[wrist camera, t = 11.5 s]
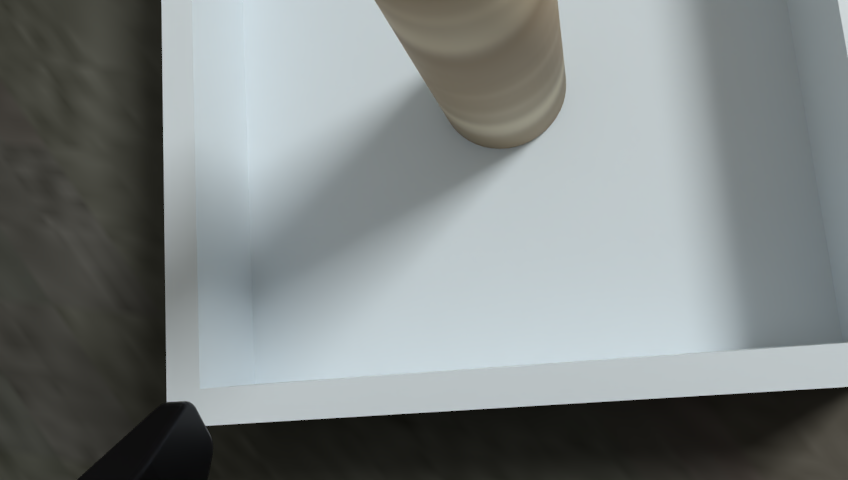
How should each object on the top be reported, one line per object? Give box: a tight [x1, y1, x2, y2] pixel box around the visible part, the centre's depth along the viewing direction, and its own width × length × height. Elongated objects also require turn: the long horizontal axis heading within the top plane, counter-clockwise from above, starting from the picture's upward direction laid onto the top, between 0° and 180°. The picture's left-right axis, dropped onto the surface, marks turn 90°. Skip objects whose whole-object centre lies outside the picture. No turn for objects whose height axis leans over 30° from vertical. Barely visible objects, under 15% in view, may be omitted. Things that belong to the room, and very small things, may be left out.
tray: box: [161, 0, 848, 426], centre depth 18 cm, size 16×16×4 cm
